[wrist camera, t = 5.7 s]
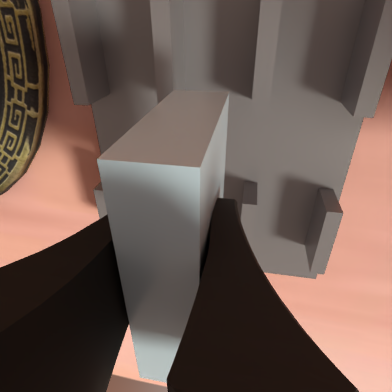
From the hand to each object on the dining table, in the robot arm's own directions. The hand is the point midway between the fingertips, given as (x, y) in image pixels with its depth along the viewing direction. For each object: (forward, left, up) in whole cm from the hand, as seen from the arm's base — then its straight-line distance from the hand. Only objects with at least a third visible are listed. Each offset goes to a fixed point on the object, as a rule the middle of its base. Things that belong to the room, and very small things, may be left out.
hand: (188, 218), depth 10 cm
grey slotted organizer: (0, 0, -9) cm, 9 cm away
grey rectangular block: (0, 0, -2) cm, 3 cm away
